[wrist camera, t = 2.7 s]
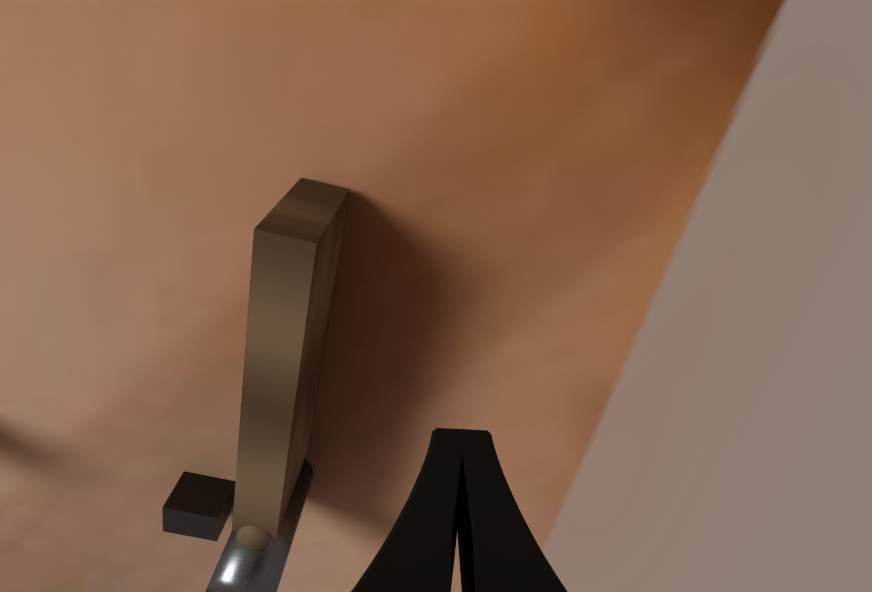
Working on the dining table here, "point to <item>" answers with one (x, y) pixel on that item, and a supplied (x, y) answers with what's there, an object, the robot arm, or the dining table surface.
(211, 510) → the hammer
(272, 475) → the handle
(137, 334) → the dining table surface
